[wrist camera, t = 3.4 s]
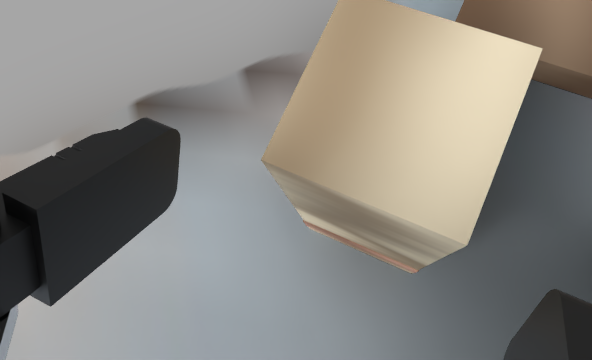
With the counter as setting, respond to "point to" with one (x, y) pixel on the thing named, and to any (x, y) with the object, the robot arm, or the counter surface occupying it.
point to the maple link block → (399, 130)
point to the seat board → (543, 35)
